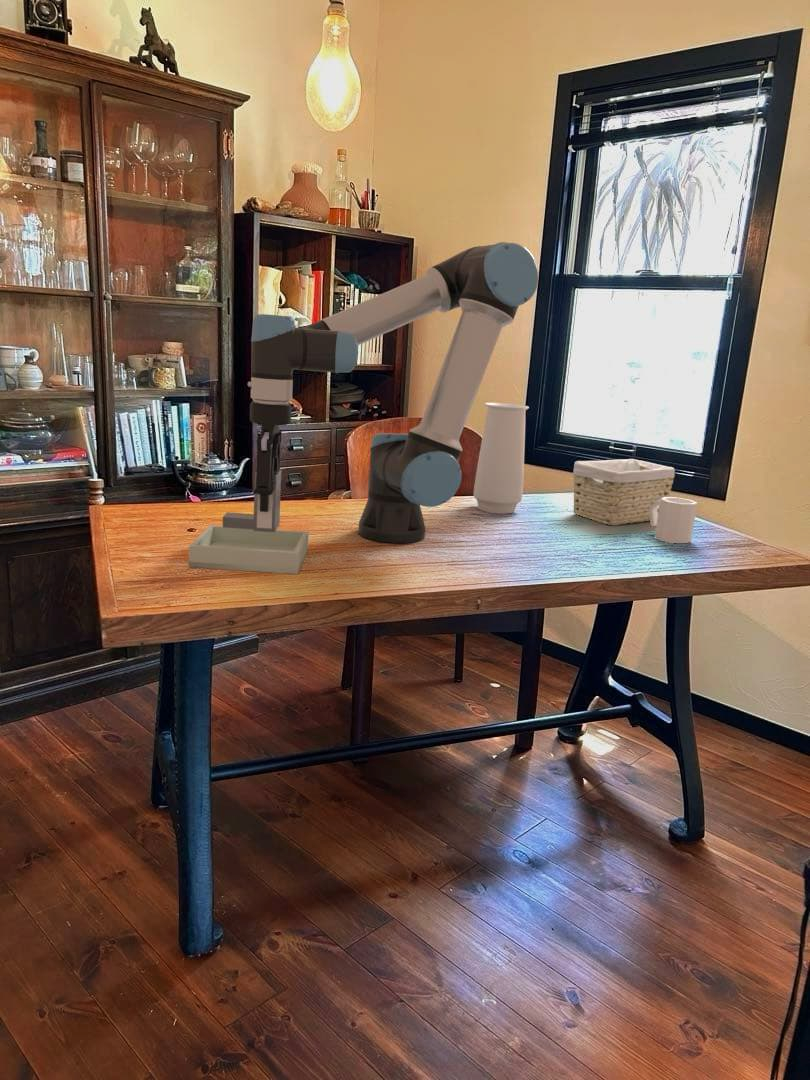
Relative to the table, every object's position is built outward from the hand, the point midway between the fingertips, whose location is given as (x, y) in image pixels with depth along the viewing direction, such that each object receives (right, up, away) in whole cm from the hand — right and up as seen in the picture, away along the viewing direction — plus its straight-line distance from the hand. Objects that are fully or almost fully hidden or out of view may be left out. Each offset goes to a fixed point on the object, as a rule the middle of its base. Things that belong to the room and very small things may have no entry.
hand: (267, 523), depth 147 cm
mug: (+91, -3, +43) cm, 101 cm away
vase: (+51, +5, +60) cm, 79 cm away
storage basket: (+84, +3, +62) cm, 105 cm away
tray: (-3, -7, +2) cm, 8 cm away
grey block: (-3, -1, 0) cm, 3 cm away
